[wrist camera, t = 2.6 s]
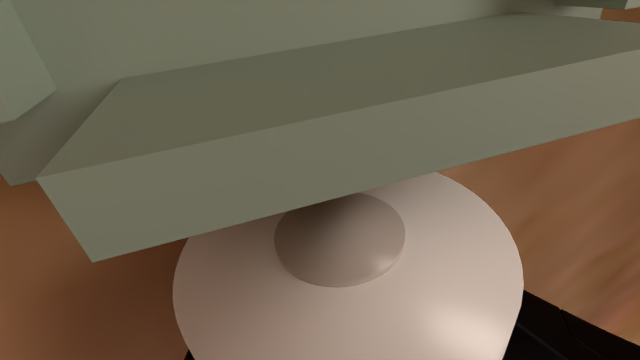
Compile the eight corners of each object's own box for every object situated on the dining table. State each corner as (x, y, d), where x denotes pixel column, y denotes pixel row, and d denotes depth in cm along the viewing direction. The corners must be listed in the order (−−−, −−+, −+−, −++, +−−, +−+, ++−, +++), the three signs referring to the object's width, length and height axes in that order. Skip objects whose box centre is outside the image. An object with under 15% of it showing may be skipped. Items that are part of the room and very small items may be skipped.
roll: (396, 301, 13) (515, 492, 8) (246, 354, 12) (280, 616, 7) (402, 133, 9) (638, 306, 4) (178, 187, 8) (144, 518, 3)
